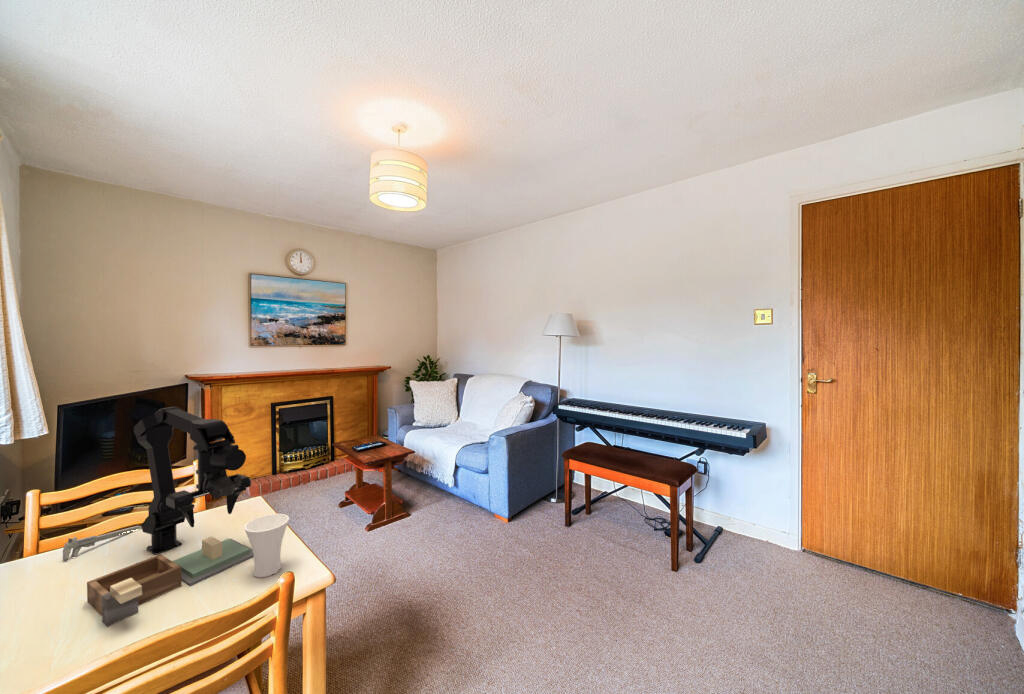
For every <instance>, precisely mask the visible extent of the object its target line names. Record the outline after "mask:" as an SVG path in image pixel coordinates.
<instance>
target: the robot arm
mask: <svg viewBox="0 0 1024 694" xmlns="http://www.w3.org/2000/svg"><path fill="white" fill-rule="evenodd" d="M174 428H176V429H178V430H181V431H182V432H185V433H187V434H189V439H190V440H191V441H192V442H194V443H195V445H194V446H193V448H192V450H195V451H197V469H196V470H195V474H196V475H197V484H196V489H197V490H195V491H191V492H189V491H187V490H181V491H180V490H179V491H176V488H175V481H174V476H173V474H174V473H173V468H172V463H171V457H170V451H169V443H170V441H171V440H172V438H173V435H174ZM133 434H134V435H135V437H136V440H137V443H138V444H139V445H140V446H142V448H144V449H145V450H146V455H147V462H148V468H149V474H150V479H151V481H150V482H151V486H152V491H153V492H152V493H153V498H152V499H151V502H150V504H149V506H148V515H147V517H146V518H145V520H144V521H143V522H142V523H141V525H140V526H141V527H142V528H141V530H142V533H145V534H149V535H150V536H151V542H150V543H151V545H149V546H146V550H148V551H149V552H151V553H152V554H154V555H159V554H162V553H163V552H165V551H168V550H171V549H173V548H177V547H179V546H182V545H183V543H182V542H181V541H180V540H178V539H177V535H178V534H177V525H179V524H181V523H182V524H183V523H185V521H187V523H188V525H189V526H190V527H191V528H194V527H195V516H194V515H195V513H194V508H195V504H193V503H194V500H195V499H198V498H201V497H204V496H207V495H210V496H211V497H212V498H213V499H214V500H215V499H216V500H219V499H221V498H223V497H226V509H227V514H229V515H231V514H232V513H233V510H234V508H235V505H236V502H237V500H238V498H239V496H240V495H241V494H242V493H243V492H245V491H246V490H247V488H249V487H252V479H251V478H250V477H249V476H247V475H244V474H239V473H235V474H232V475H228V474H227V470H228V471H237V470H239V469H240V468H242V467H243V466H244V465H245V462H246V459H247V455H246V453H245V452H244V450H243V449H239V444H236V441H235V437H234V435H233V434H232V432H231V431H230V429H229V426H228V425H227V423H226V422H225V421H223V420H222V419H216V418H208V419H207V418H202V417H200V416H197V415H195V414H192V413H190V412H187V411H185V410H184V409H181V407H179V406H170V407H163V408H160V409H158V410H156V411H155V412H154V413H152V414H150V415H148V416H145V417H144V418H141V419H140V420H139V421H138V422H137V423H136V424H135V425H134V426H133Z"/></svg>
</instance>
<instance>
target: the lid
mask: <svg viewBox="0 0 1024 694" xmlns="http://www.w3.org/2000/svg"><path fill="white" fill-rule="evenodd" d="M231 539H232V538H227V539H224V540H220V539H217V538H216V537H213V536H210V537H207V538H205V539H202V540H201V549H199V550H196V551H193V552H192V553H189V554H186V555H183V556H182V557H178V558H176V559H174V560H172V561H173V562H174V563H176V564H177V565H179V566H181V571H182V572H184V573H185V574H187V575H188V576H190V577H191V578H195V577H198V576H200V575H202V574H204V573H206V572H209V571H211V570H213V569H215V568H218V567H220V566H222V565H224V564H227V563H229V562H231V561H233V560H235V559H238V558H240V557H242V556H244V555H247V554H249V553H250V549H249V548H250V547H249V548H247V547H248V546H247V547H245V546H246V545H245V546H243V545H244V544H243V545H241V544H242V543H241V544H239V543H240V542H239V543H237V542H238V541H237V542H235V541H236V540H235V541H233V540H234V539H233V540H231Z"/></svg>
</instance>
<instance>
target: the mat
mask: <svg viewBox="0 0 1024 694" xmlns="http://www.w3.org/2000/svg"><path fill="white" fill-rule="evenodd" d="M230 539H231V540H233V541H235V542H237V543H239V544H241V545H243V546H245V547H247V548H249V549H250V553H249V554H247V555H244V556H242V557H240V558H238V559H235V560H233V561H231V562H229V563H227V564H224V565H222V566H220V567H218V568H215V569H213V570H211V571H209V572H206V573H204V574H202V575H200V576H198V577H195V578H191V577H190V576H188V575H187V574H185V573H184V572H182V571H181V581H182V582H183V583H184V584H186V585H187V586H188V587H191V586H194V585H196V584H198V583H200V582H203V581H204V580H207V579H209V578H211V577H213V576H215V575H218V574H221V573H222V572H224V571H226V570H229V569H231V568H232V567H235V566H237V565H240V564H242V563H243V562H246V561H248V560H250V559H252V558H254V554H253V550H252V547H249V546H247V545H244V544H243V543H241V542H239V541H237V540H234V539H233V538H230Z"/></svg>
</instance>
